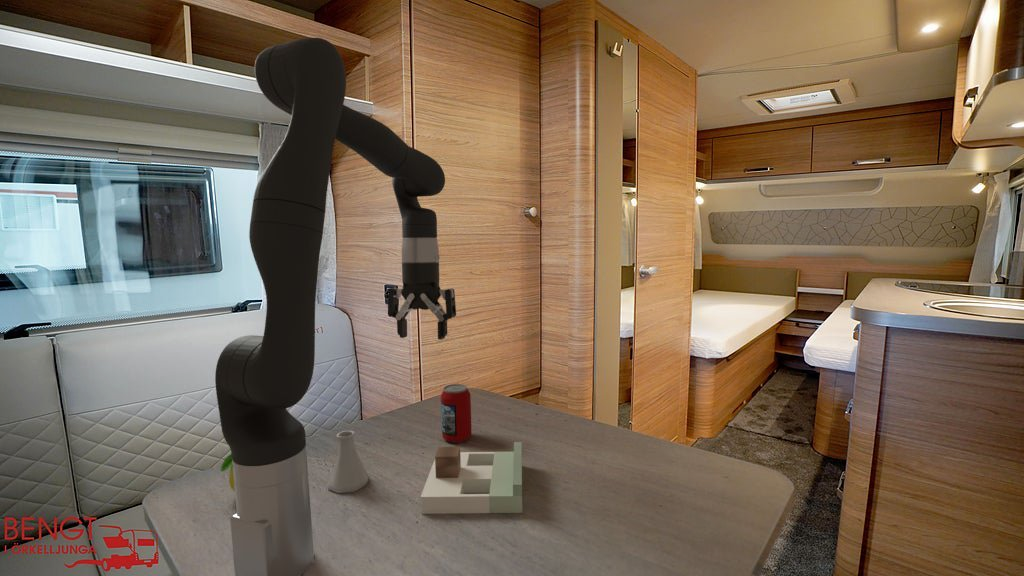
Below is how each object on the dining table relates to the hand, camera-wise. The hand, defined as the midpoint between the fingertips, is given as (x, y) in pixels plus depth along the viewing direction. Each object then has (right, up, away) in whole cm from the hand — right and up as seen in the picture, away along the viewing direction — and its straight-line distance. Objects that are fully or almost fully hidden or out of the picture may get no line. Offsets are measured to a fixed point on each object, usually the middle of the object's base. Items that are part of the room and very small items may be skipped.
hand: (422, 338), depth 101 cm
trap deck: (+12, -27, -11) cm, 31 cm away
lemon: (-29, -28, -12) cm, 42 cm away
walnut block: (+7, -24, -12) cm, 27 cm away
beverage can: (+6, -24, +10) cm, 27 cm away
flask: (-12, -27, -9) cm, 31 cm away
